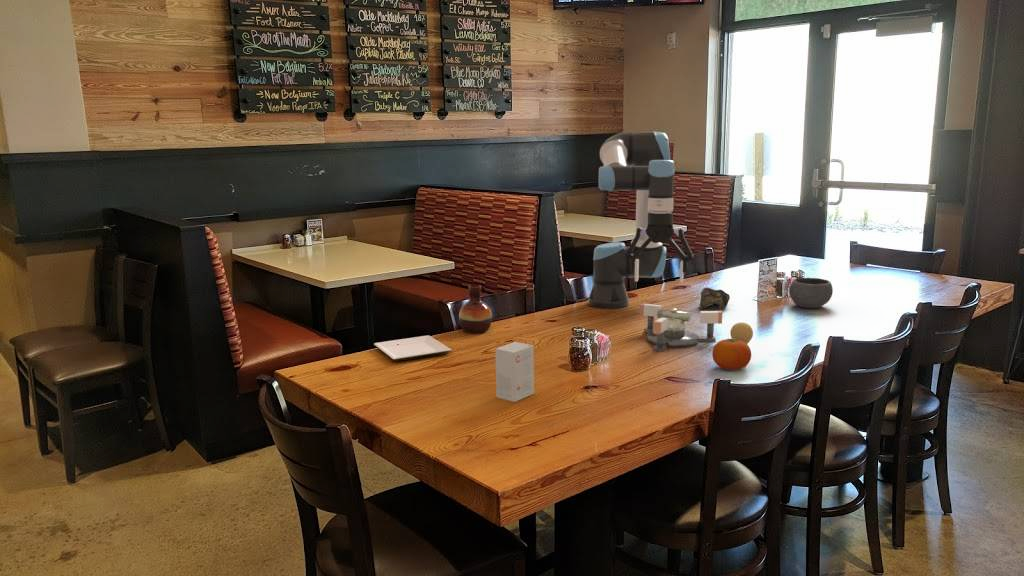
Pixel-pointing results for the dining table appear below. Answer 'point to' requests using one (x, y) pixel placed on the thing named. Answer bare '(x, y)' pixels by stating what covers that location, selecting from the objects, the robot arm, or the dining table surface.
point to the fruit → (731, 354)
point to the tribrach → (676, 331)
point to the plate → (412, 348)
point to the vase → (475, 312)
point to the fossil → (714, 298)
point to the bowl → (810, 292)
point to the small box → (514, 371)
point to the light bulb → (742, 332)
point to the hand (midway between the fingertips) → (658, 281)
